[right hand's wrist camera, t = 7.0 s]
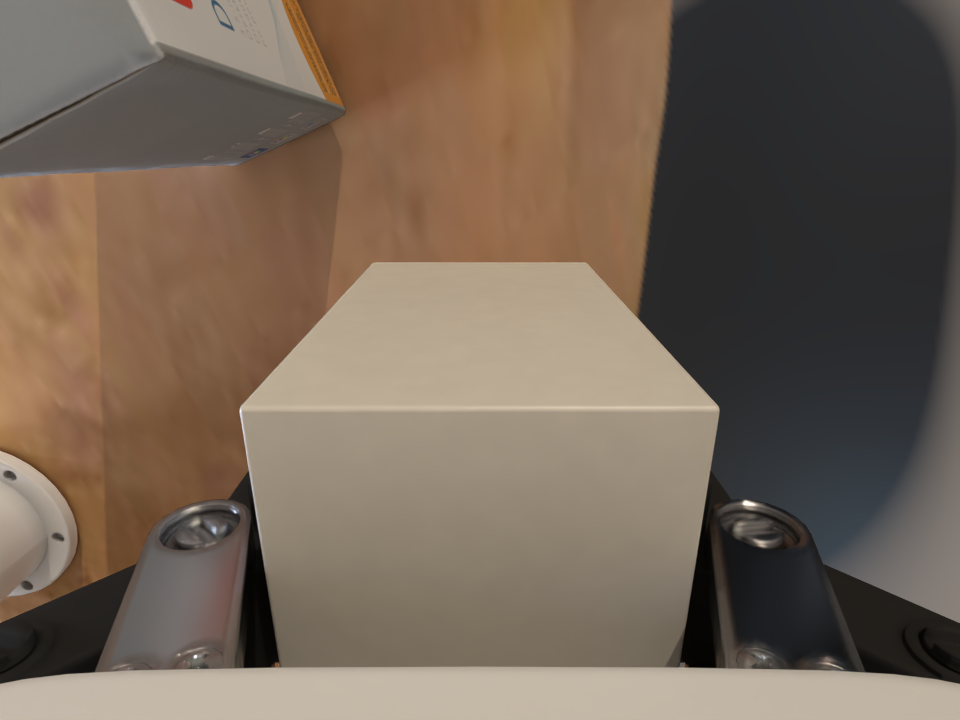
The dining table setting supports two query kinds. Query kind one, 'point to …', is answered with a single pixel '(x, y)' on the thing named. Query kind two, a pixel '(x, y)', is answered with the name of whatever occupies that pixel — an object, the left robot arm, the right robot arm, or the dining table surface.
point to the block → (479, 475)
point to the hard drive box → (155, 83)
